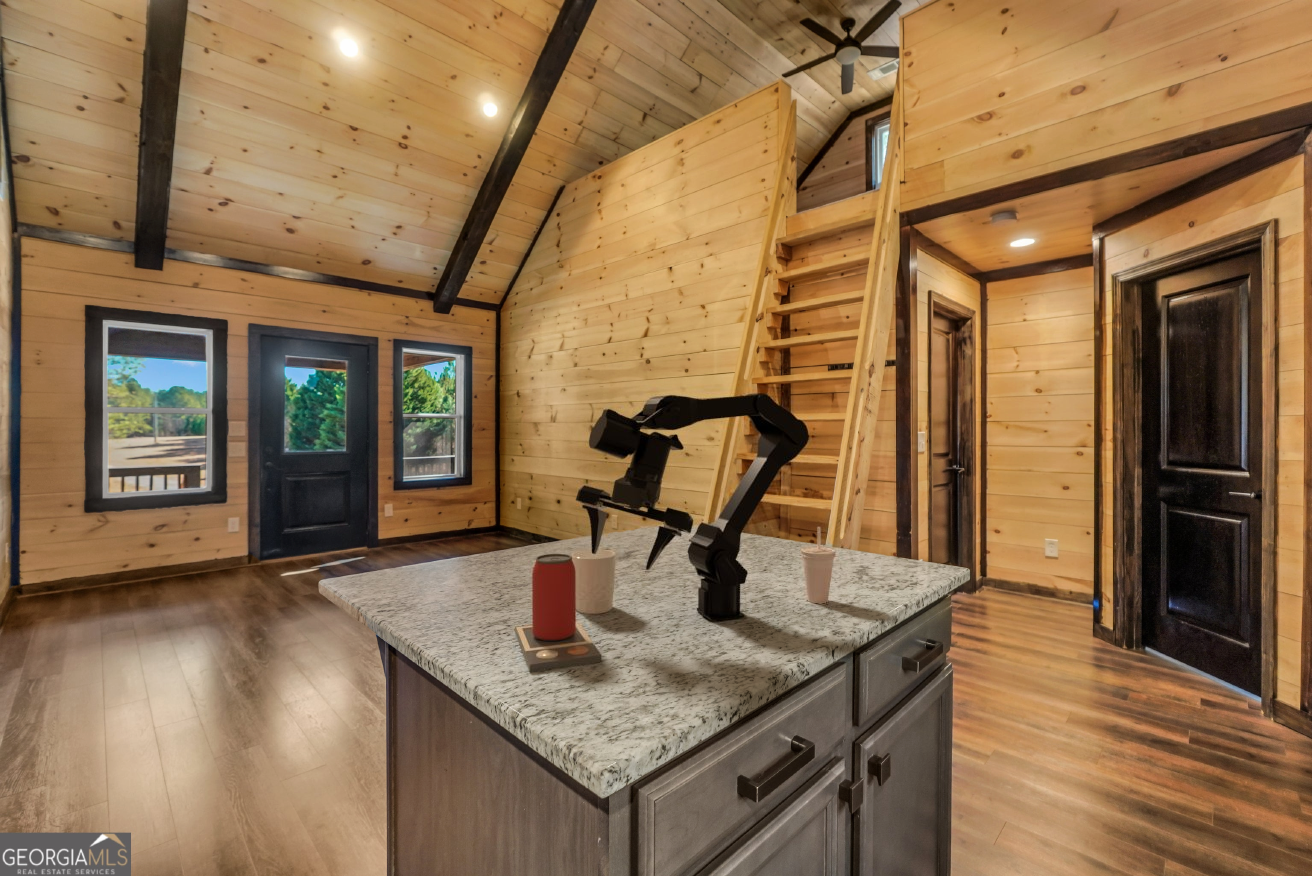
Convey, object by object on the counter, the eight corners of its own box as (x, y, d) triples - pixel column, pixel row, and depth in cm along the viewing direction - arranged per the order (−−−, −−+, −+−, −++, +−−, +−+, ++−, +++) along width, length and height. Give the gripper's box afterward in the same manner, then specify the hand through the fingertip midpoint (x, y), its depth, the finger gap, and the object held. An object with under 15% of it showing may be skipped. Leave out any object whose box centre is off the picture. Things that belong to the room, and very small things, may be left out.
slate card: (576, 625, 98) (576, 618, 98) (601, 661, 83) (601, 653, 83) (515, 632, 95) (514, 625, 95) (529, 671, 80) (529, 663, 80)
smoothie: (839, 599, 113) (839, 526, 113) (829, 608, 108) (830, 531, 107) (806, 594, 117) (807, 523, 116) (795, 602, 111) (796, 528, 111)
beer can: (543, 646, 86) (543, 564, 86) (525, 633, 92) (525, 556, 91) (583, 636, 90) (583, 558, 90) (563, 625, 95) (563, 551, 95)
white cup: (618, 602, 111) (618, 549, 111) (611, 616, 103) (611, 559, 103) (577, 601, 112) (577, 548, 111) (567, 614, 104) (567, 558, 104)
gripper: (580, 443, 92) (549, 542, 89) (696, 472, 87) (667, 577, 84) (599, 458, 102) (572, 547, 99) (703, 485, 98) (678, 578, 95)
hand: (620, 561), depth 94 cm, fingers open, 9 cm apart
